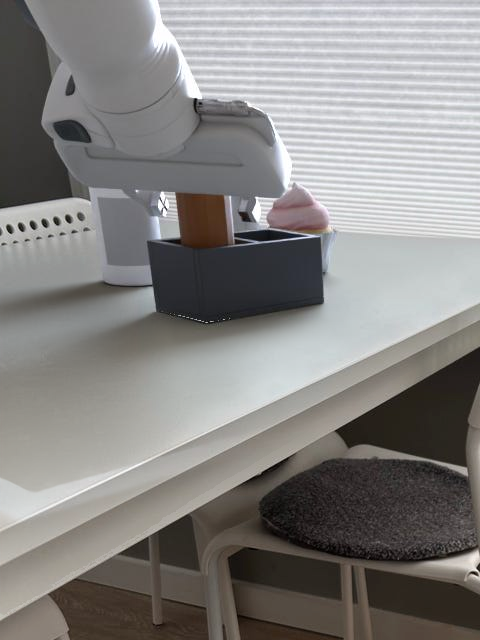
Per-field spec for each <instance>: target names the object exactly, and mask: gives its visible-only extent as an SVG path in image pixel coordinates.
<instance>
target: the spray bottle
mask: <svg viewBox="0 0 480 640" xmlns="http://www.w3.org/2000/svg"><path fill="white" fill-rule="evenodd" d="M88 193H89V199H90V206H91V212H92V218H93V225H94V231H95V237H96V243H97V250H98V255H99V256H98V257H99V262H100V269H101V273H102V274H101V275H102V279H103V281H104V282H105V283H107V284H109V285H112V286H119V287H120V286H121V287H144V286H153V284H152V277H151V269H150V262H149V254H148V247H147V240H156V239H162V237H161V229H160V221H159V217H158V216H156V217H154V216H150V215H149V213H148V212H147V210H146V209H145V207H144V206H143V205H141V204H139V203H138V202H136V201H135V200H133V199H132V198H130V197H129V196H127V195H126V194H124V192H123V191H122V189H105V188H90V187H88Z"/></svg>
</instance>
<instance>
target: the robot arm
mask: <svg viewBox="0 0 480 640" xmlns="http://www.w3.org/2000/svg"><path fill="white" fill-rule="evenodd" d="M12 1H13V3H14V5H15V6H16V7H17V9H18V11H19V13H20V14H21V16H22V17H23V19H24V21H25V22H26V23H28V24H29V25H30V26H32V27H33V28H35V29H36V30H38V31H39V32H41V33H42V35H43V37H44V38H45V41H46V42H47V43H48V45H49V47H50V48H51V50H52V51H53V52H54V53H55V55H56V56H57V57H58V58H59V59H60V60H61V63H59V65H58V67H57V69H56V71H55V73H54V74H53V75H54V76H53V78H52V80H51V83H50V85H49V89H48V91H47V95H46V97H45V103H44V106H43V110H42V116H41V122H40V124H41V127H42V128H43V130H44V132H45V133H47V135H48V136H49V137H50V138H51V139H52V140H53V145H54V148H55V150H56V152H57V154H58V155H59V157H60V159H61V161H62V162H63V164H64V165H65V167H66V168H67V170H68V171H69V173H70V174H71V175H72V177H73V178H74V179H75V180H76V181H78V182H79V183H81V184H82V185H85V186H86V187H87V188H89V187H90V188H105V189H122V191H123V192H124V194H126V195H127V196H129V197H130V198H132V199H133V200H135V201H136V202H138V203H139V204H141V205H143V206H144V207H145V209H146V210H147V212H148V213H149V215H150V216H154V217H156V216H158V218H159V217H160V218H166V216H167V214H168V213H167V211H168V210H169V201H168V199H167V198H166V197H165V194H164V193H174V194H175V193H193V194H210V195H228V196H241V199H240V203H241V204H240V205H239V207H238V213H239V215H240V217H242V219H241V220H242V221H243V222H252V223H259V221H260V217H261V212H262V209H261V205H260V202H259V200H258V199H259V198H264V199H265V198H266V199H278V198H280V197H281V196H282V195H284V194H285V193H286V191H287V188H288V185H289V182H290V178H291V172H292V161H291V158H290V155H289V153H288V151H287V149H286V147H285V145H284V143H283V141H282V139H281V137H280V136H279V134H278V132H277V131H276V129H275V126H274V122H273V120H272V118H271V116H270V115H269V114H268V113H267V112H266V111H264V110H261V109H259V108H258V107H255V106H251V104H250V103H249V102H248V101H246V100H242V99H241V100H240V99H239V100H238V99H234V100H233V99H232V100H231V101H230V100H222V99H215V98H202V94H201V92H200V89H199V87H198V84H197V83H196V81H195V79H194V76H193V75H192V72H191V70H190V68H189V65H188V63H187V61H186V59H185V57H184V54H183V52H182V51H181V48H180V46H179V43H178V42H177V40H176V39H175V37H174V36H173V34H172V33H171V32H170V31H169V29H168V28H167V27H166V26H165V25H164V24H163V21H162V18H161V10H160V5H159V2H158V0H12Z"/></svg>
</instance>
